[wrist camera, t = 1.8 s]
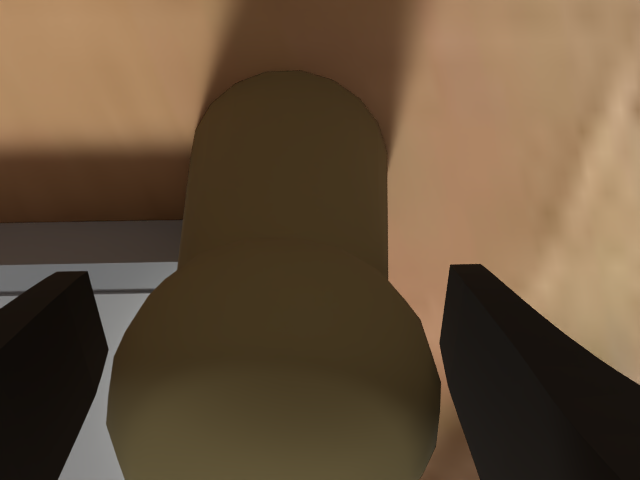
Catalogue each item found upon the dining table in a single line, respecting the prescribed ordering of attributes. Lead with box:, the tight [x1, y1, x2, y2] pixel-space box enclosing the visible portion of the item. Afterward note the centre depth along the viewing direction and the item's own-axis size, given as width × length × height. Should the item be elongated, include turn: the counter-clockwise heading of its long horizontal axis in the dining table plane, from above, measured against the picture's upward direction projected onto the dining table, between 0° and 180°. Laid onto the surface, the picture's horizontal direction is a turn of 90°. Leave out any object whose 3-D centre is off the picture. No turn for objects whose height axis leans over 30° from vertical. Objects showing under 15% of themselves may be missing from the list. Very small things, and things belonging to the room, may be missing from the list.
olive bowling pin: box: [106, 71, 441, 480], centre depth 12 cm, size 6×6×11 cm
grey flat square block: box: [0, 220, 183, 480], centre depth 19 cm, size 11×11×3 cm
